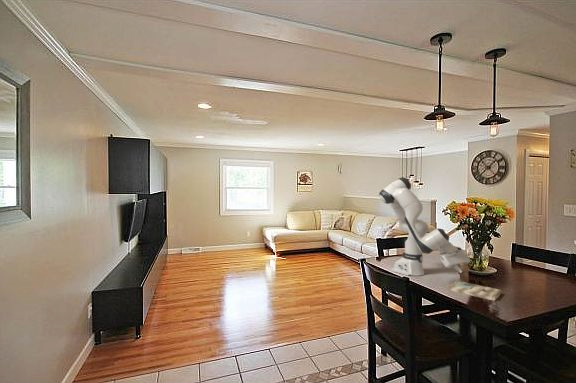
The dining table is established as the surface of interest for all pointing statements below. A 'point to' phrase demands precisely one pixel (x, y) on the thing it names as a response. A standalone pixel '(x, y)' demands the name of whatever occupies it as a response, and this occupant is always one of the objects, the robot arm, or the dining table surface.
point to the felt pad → (464, 285)
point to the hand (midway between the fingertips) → (464, 271)
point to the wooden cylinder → (464, 272)
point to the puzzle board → (477, 291)
